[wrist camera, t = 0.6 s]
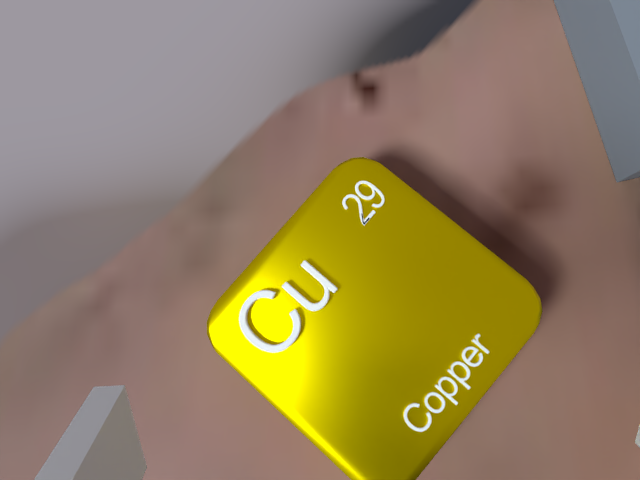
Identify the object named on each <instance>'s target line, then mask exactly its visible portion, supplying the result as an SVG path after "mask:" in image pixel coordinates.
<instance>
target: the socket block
mask: <svg viewBox="0 0 640 480" xmlns="http://www.w3.org/2000/svg"><path fill="white" fill-rule="evenodd" d="M554 3H555V6H556V8H557V11H558V14H559V17H560V20H561V23H562V26H563V29H564V31H565V34H566V37H567V40H568V43H569V46H570V49H571V52H572V55H573V57H574V60H575V63H576V66H577V69H578V72H579V75H580V78H581V80H582V83H583V86H584V89H585V92H586V95H587V98H588V101H589V103H590V106H591V109H592V112H593V115H594V118H595V121H596V124H597V127H598V129H599V132H600V135H601V138H602V141H603V144H604V147H605V150H606V152H607V155H608V158H609V161H610V164H611V167H612V170H613V173H614V176H615V178H616V181H617V182H621V181H625V180H629V179H634V178H638V177H640V0H554Z"/></svg>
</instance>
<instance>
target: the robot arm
mask: <svg viewBox="0 0 640 480" xmlns="http://www.w3.org/2000/svg"><path fill="white" fill-rule="evenodd" d="M635 443H636V444H637V445H638V446H639V448H640V426H639V429H638V433H637V437H636V440H635ZM146 468H147V465H146V461H145V458H144V454H143V450H142V447H141V443H140V439H139V436H138V432H137V428H136V425H135V421H134V417H133V414H132V410H131V406H130V403H129V399H128V395H127V392H126V388H125V385H121V386H102V387H94V388H93V389H92V391H91V392H90V394H89V395H88V397H87V399H86V400H85V402H84V403H83V405H82V406H81V408H80V409H79V411H78V412H77V414H76V416H75V417H74V419H73V420H72V422H71V423H70V425H69V426H68V428H67V430H66V431H65V433H64V434H63V436H62V437H61V439H60V440H59V442H58V443H57V445H56V447H55V448H54V450H53V451H52V453H51V454H50V456H49V457H48V459H47V461H46V462H45V464H44V465H43V467H42V468H41V470H40V471H39V473H38V474H37V476H36V478H35V479H34V480H142V478H143V476H144V473H145V471H146Z"/></svg>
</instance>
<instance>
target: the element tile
mask: <svg viewBox="0 0 640 480" xmlns="http://www.w3.org/2000/svg"><path fill="white" fill-rule="evenodd" d="M541 314H542V306H541V299H540V297H539V295H538V294H537V292H536V290H535V288H534V287H533V286H532V285H531V284H530V283H529V281H528V280H527V279H525V278H524V277H523V276H522V275H520V274H519V273H518V272H517V271H515V270H514V269H513V268H512V267H510V266H509V265H508V264H507V263H505V262H504V261H503V260H502V259H500V258H499V257H498V256H497V255H495V254H494V253H493V252H491V251H490V250H489V249H488V248H486V247H485V246H484V245H483V244H481V243H480V242H479V241H478V240H476V239H475V238H474V237H473V236H471V235H470V234H469V233H468V232H466V231H465V230H464V229H463V228H461V227H460V226H459V225H457V224H456V223H455V222H454V221H452V220H451V219H450V218H449V217H447V216H446V215H445V214H444V213H442V212H441V211H440V210H439V209H437V208H436V207H435V206H434V205H432V204H431V203H430V202H429V201H427V200H426V199H425V198H423V197H422V196H421V195H420V194H418V193H417V192H416V191H415V190H413V189H412V188H411V187H410V186H408V185H407V184H406V183H405V182H403V181H402V180H401V179H400V178H398V177H397V176H396V175H394V174H393V173H392V172H391V171H389V170H388V169H387V168H386V167H384V166H383V165H382V164H381V163H379V162H376V161H374V160H371V159H367V158H364V157H359V158H351V159H349V160H347V161H345V162H343V163H341V164H339V165H338V166H337V167H336V168H335V169H333V170H332V171H331V173H330V174H329V175H328V176H327V177H326V178H325V179H324V181H323V182H322V183H321V184H320V185H319V186H318V187H317V188H316V190H315V191H314V192H313V193H312V194H311V195H310V196H309V198H308V199H307V200H306V201H305V202H304V203H303V204H302V205H301V207H300V208H299V209H298V210H297V211H296V212H295V213H294V214H293V216H292V217H291V218H290V219H289V220H288V221H287V222H286V224H285V225H284V226H283V227H282V228H281V229H280V230H279V231H278V233H277V234H276V235H275V236H274V237H273V238H272V239H271V241H270V242H269V243H268V244H267V245H266V246H265V247H264V248H263V250H262V251H261V252H260V253H259V254H258V255H257V256H256V257H255V259H254V260H253V261H252V262H251V263H250V264H249V265H248V267H247V268H246V269H245V270H244V271H243V272H242V273H241V274H240V276H239V277H238V278H237V279H236V280H235V281H234V282H233V284H232V285H231V286H230V287H229V288H228V289H227V290H226V291H225V293H224V294H223V295H222V296H221V297H220V298H219V299H218V300H217V302H216V304H215V305H214V307H213V308H212V310H211V312H210V315H209V318H208V320H207V335H208V337H209V340H210V342H211V344H212V346H213V348H214V349H215V351H216V352H217V353H218V354H219V355H220V356H221V357H222V358H223V359H224V360H225V361H226V362H227V363H228V364H229V365H231V366H232V367H233V368H234V369H235V370H236V371H237V372H238V373H239V374H240V375H241V376H242V377H243V378H244V379H245V380H246V381H247V382H249V383H250V384H251V385H252V386H253V387H254V388H255V389H256V390H257V391H258V392H259V393H260V394H261V395H262V396H263V397H264V398H265V399H266V400H268V401H269V402H270V403H271V404H272V405H273V406H274V407H275V408H276V409H277V410H278V411H279V412H280V413H281V414H282V415H283V416H284V417H286V418H287V419H288V420H289V421H290V422H291V423H292V424H293V425H294V426H295V427H296V428H297V429H298V430H299V431H300V432H301V433H302V434H303V435H305V436H306V437H307V438H308V439H309V440H310V441H311V442H312V443H313V444H314V445H315V446H316V447H317V448H318V449H319V450H320V451H321V452H323V453H324V454H325V455H326V456H327V457H328V458H329V459H330V460H331V461H332V462H333V463H334V464H335V465H336V466H337V467H338V468H339V469H340V470H342V471H343V472H344V473H345V474H346V475H347V476H348V477H349V478H350V479H351V480H416V479H417V477H418V476H419V475H420V474H421V472H422V471H423V470H424V469H425V467H426V466H427V465H428V464H429V462H430V461H431V460H432V459H433V457H434V456H435V455H436V454H437V453H438V451H439V450H440V449H441V448H442V446H443V445H444V444H445V443H446V441H447V440H448V439H449V438H450V436H451V435H452V434H453V433H454V431H455V430H456V429H457V428H458V426H459V425H460V424H461V423H462V422H463V420H464V419H465V418H466V417H467V415H468V414H469V413H470V412H471V410H472V409H473V408H474V407H475V405H476V404H477V403H478V402H479V400H480V399H481V398H482V397H483V396H484V394H485V393H486V392H487V391H488V389H489V388H490V387H491V386H492V384H493V383H494V382H495V381H496V379H497V378H498V377H499V376H500V374H501V373H502V372H503V371H504V369H505V368H506V367H507V366H508V365H509V363H510V362H511V361H512V360H513V358H514V357H515V356H516V355H517V353H518V352H519V351H520V350H521V348H522V347H523V346H524V345H525V343H526V342H527V341H528V340H529V338H530V337H531V336H532V335H533V334H534V332H535V330H536V328H537V327H538V325H539V322H540V318H541Z"/></svg>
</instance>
